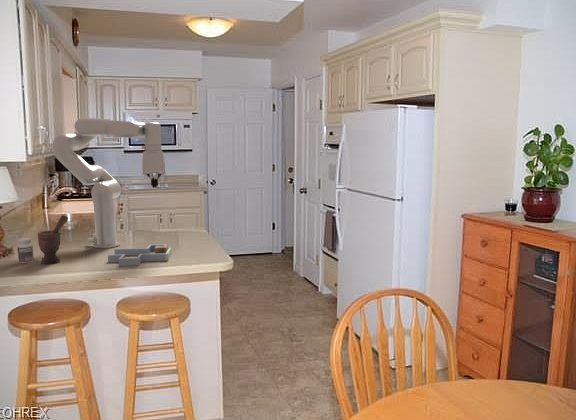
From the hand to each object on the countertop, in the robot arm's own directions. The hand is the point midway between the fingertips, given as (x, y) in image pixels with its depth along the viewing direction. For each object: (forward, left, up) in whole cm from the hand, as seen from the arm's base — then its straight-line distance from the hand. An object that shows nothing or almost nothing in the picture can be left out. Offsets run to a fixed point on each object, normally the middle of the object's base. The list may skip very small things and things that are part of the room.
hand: (154, 187), depth 241 cm
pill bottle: (-51, -25, -29) cm, 64 cm away
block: (+6, -23, -29) cm, 38 cm away
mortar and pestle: (-39, -26, -29) cm, 55 cm away
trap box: (-4, -23, -29) cm, 37 cm away
